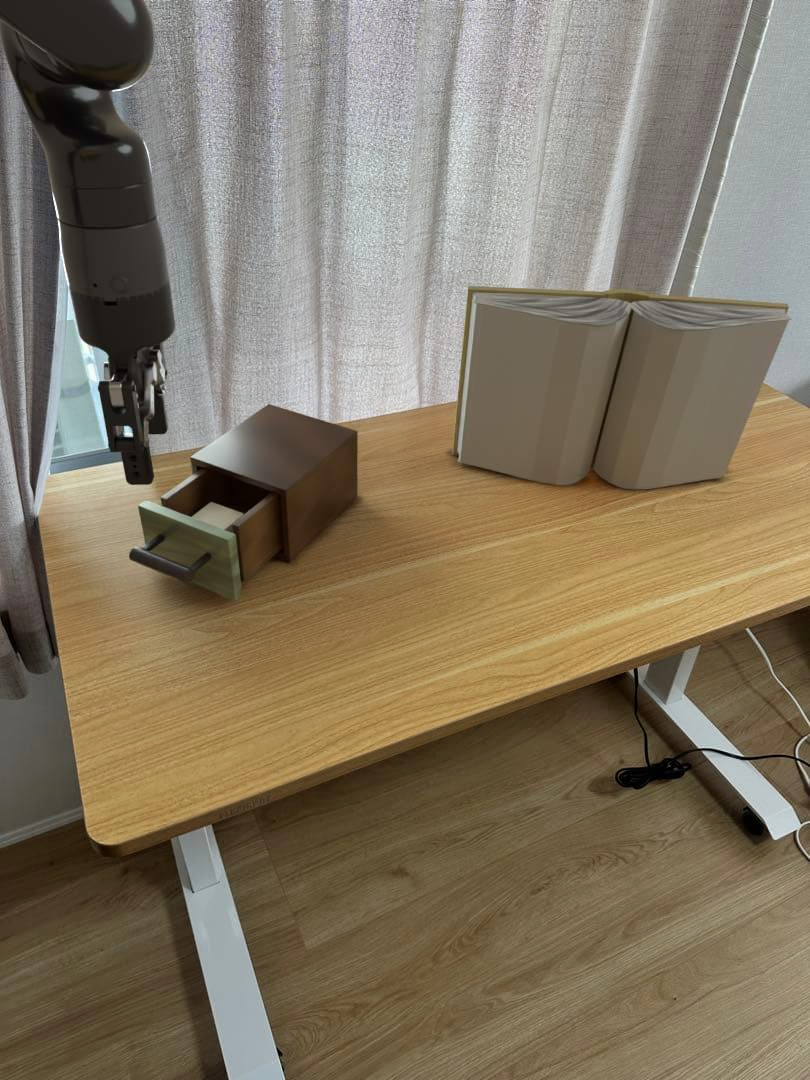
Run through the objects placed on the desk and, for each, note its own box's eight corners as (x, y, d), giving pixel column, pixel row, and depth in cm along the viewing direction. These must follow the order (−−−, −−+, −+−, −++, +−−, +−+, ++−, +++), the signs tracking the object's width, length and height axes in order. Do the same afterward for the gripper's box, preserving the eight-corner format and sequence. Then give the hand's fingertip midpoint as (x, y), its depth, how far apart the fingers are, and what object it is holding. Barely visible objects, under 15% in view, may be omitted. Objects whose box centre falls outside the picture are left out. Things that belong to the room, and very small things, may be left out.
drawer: (208, 625, 79) (199, 564, 75) (120, 587, 83) (106, 526, 79) (308, 533, 92) (305, 475, 87) (227, 503, 96) (221, 447, 91)
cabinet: (290, 562, 89) (285, 490, 83) (199, 528, 93) (189, 457, 88) (357, 499, 99) (357, 430, 94) (273, 470, 104) (268, 403, 98)
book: (719, 462, 109) (785, 297, 92) (732, 500, 104) (805, 333, 87) (452, 447, 110) (467, 280, 93) (451, 485, 105) (467, 315, 87)
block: (222, 568, 85) (218, 534, 82) (189, 555, 86) (184, 521, 84) (247, 546, 88) (244, 513, 85) (215, 534, 89) (211, 501, 87)
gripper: (88, 246, 67) (120, 418, 77) (43, 310, 56) (88, 502, 66) (179, 248, 68) (200, 418, 78) (154, 311, 57) (181, 501, 67)
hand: (148, 456), depth 72 cm, fingers open, 8 cm apart
